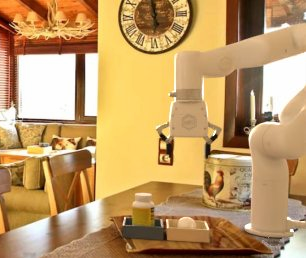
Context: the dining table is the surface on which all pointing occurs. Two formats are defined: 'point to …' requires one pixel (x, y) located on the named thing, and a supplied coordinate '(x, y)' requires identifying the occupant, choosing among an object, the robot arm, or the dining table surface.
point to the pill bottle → (143, 210)
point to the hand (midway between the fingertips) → (187, 157)
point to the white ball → (186, 223)
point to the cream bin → (187, 232)
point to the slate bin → (143, 230)
